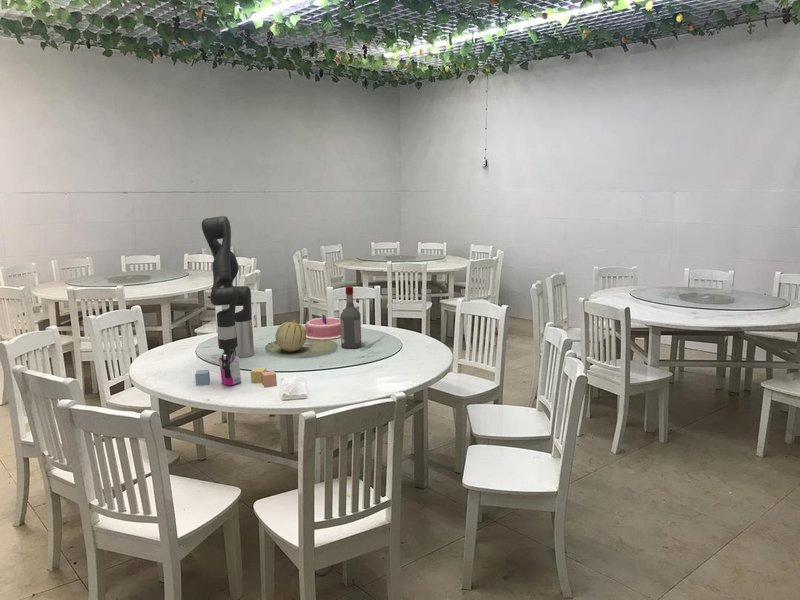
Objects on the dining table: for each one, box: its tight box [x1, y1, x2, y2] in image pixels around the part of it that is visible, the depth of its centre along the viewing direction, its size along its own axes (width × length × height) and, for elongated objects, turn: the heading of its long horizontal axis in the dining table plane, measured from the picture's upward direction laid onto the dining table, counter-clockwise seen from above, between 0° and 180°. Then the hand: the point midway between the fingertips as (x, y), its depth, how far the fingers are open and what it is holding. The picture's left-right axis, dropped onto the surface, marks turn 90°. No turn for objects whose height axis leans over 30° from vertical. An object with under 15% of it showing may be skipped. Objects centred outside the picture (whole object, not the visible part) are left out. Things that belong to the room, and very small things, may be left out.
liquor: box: [339, 286, 362, 350], centre depth 296 cm, size 9×9×30 cm
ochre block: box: [250, 367, 267, 384], centre depth 250 cm, size 5×5×5 cm
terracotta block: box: [261, 370, 278, 388], centre depth 245 cm, size 5×5×5 cm
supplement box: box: [218, 356, 242, 388], centre depth 246 cm, size 6×6×12 cm
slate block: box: [194, 369, 211, 387], centre depth 249 cm, size 5×5×5 cm
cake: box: [304, 314, 341, 341], centre depth 323 cm, size 25×25×11 cm
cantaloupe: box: [274, 319, 307, 353], centre depth 292 cm, size 15×15×15 cm
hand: (230, 374), depth 247 cm, fingers closed on supplement box, 8 cm apart
